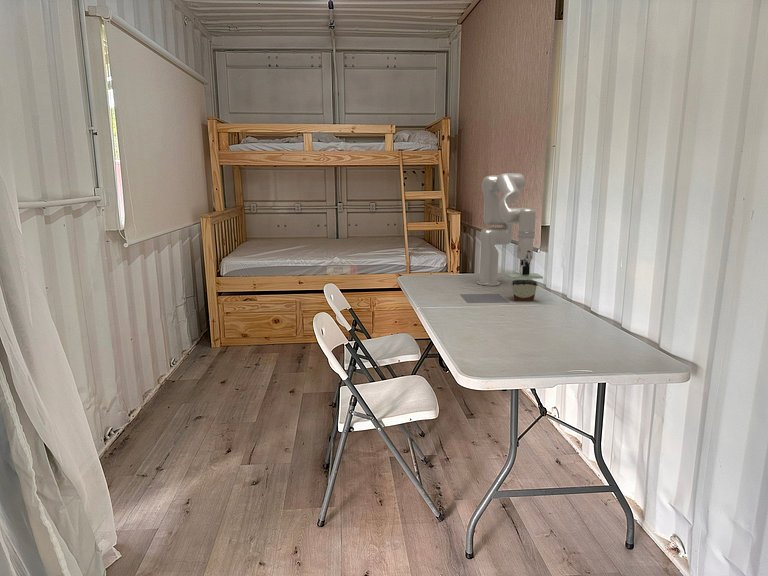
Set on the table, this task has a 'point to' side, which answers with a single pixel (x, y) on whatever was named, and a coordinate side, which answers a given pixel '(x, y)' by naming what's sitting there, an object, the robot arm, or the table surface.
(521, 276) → the lid
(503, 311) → the table surface
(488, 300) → the mat
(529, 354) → the table surface
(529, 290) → the food container
